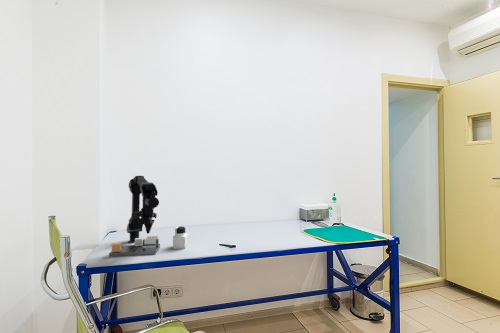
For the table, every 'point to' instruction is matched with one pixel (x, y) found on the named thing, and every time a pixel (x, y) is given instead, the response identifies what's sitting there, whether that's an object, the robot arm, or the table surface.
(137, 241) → the block
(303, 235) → the table surface
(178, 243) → the medicine bottle
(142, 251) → the panel
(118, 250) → the slider orange
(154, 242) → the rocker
